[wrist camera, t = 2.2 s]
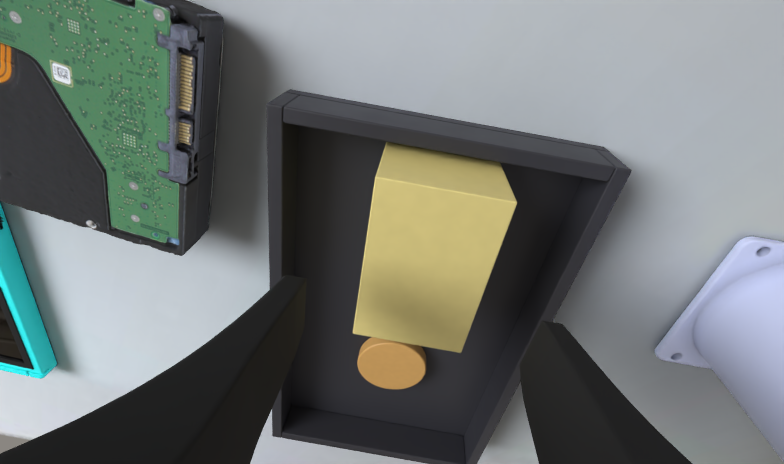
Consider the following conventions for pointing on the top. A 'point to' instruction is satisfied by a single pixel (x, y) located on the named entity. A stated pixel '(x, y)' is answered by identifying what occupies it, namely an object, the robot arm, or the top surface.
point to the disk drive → (111, 115)
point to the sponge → (430, 245)
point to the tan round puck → (391, 363)
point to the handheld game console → (20, 316)
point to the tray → (345, 259)
